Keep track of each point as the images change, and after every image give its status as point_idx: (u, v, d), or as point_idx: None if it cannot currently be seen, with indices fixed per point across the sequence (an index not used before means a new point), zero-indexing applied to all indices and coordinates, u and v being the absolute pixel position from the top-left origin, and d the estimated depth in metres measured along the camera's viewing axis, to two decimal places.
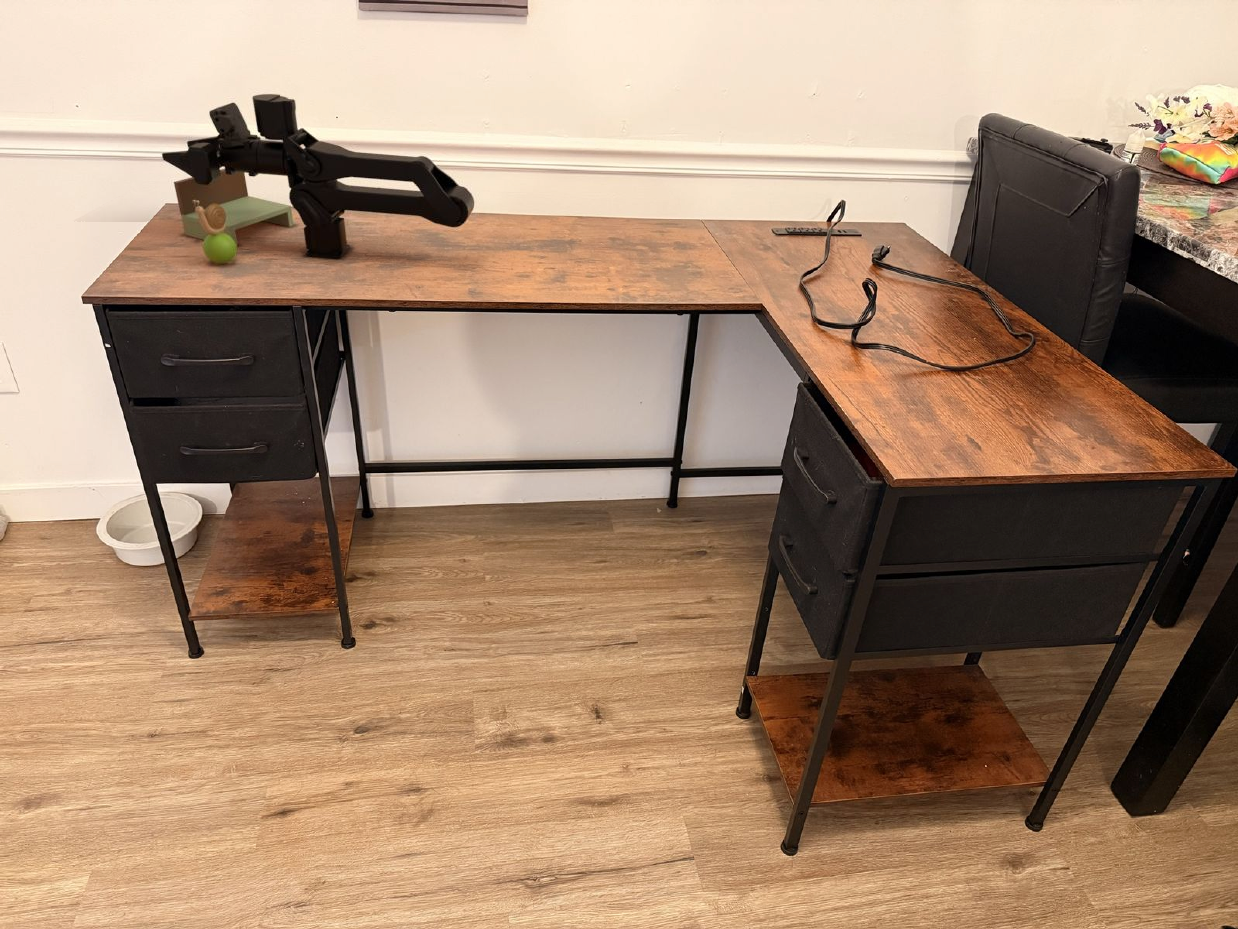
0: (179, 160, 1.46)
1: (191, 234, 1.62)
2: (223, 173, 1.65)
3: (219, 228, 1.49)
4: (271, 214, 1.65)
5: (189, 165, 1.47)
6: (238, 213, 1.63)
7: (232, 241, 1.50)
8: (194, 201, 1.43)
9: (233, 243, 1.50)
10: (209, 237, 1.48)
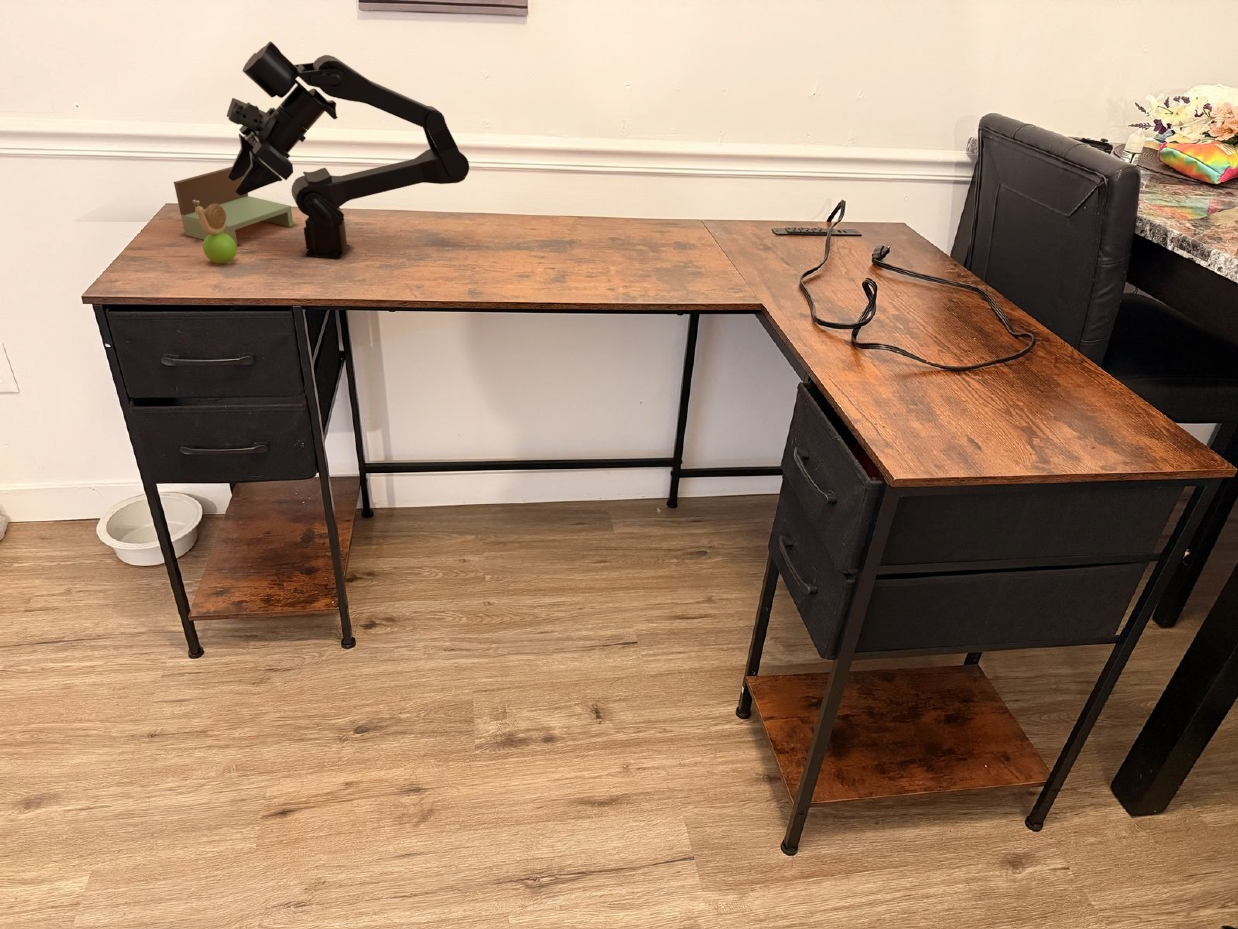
0: (253, 180, 1.43)
1: (191, 234, 1.62)
2: (223, 173, 1.65)
3: (219, 228, 1.49)
4: (271, 214, 1.65)
5: (263, 176, 1.43)
6: (238, 213, 1.63)
7: (232, 241, 1.50)
8: (194, 201, 1.43)
9: (233, 243, 1.50)
10: (209, 237, 1.48)
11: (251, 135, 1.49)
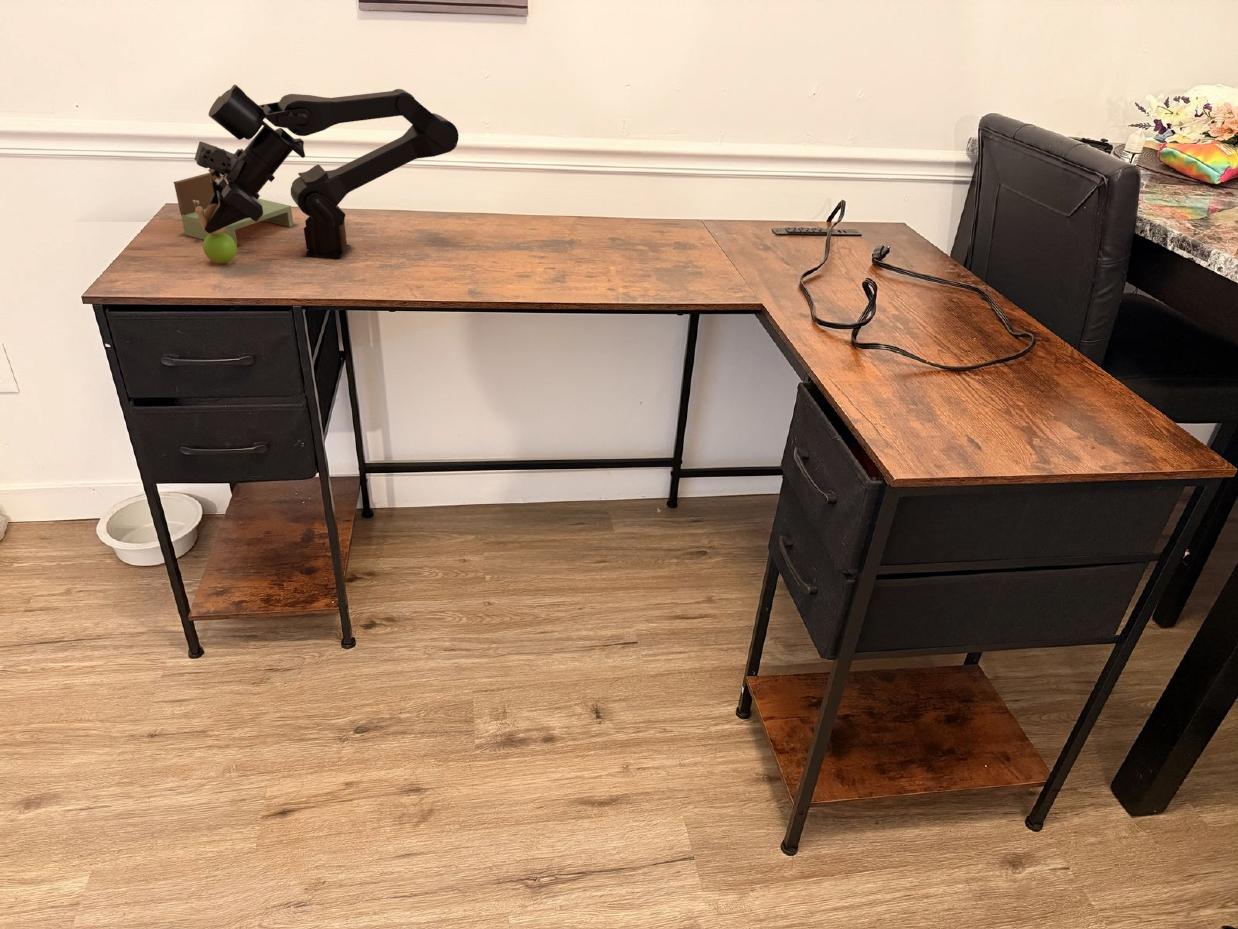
0: (221, 218, 1.45)
1: (191, 234, 1.62)
2: None
3: None
4: (271, 214, 1.65)
5: (231, 214, 1.45)
6: None
7: (232, 241, 1.50)
8: (194, 201, 1.43)
9: (233, 243, 1.50)
10: (209, 237, 1.48)
11: (223, 180, 1.48)
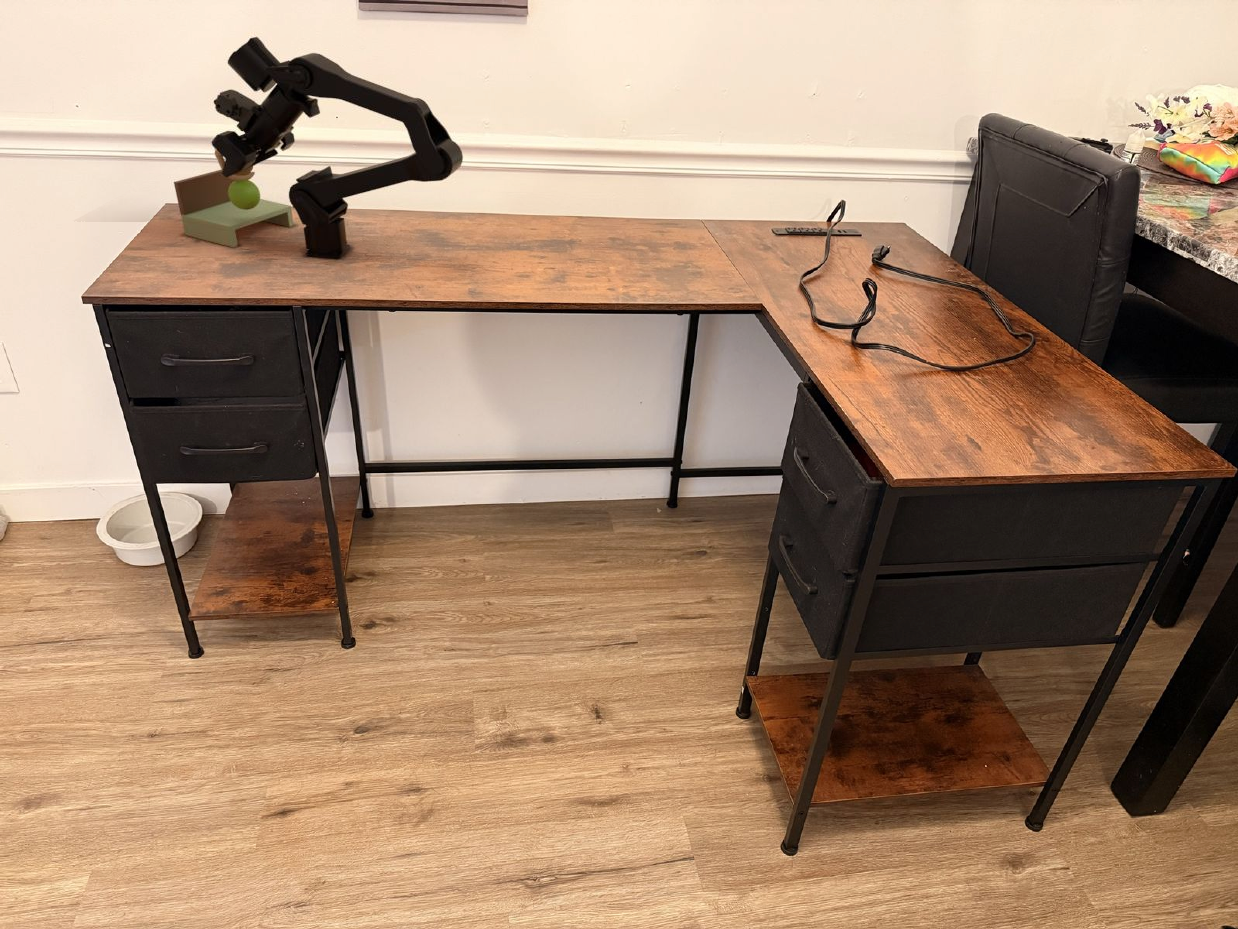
0: (231, 164, 1.50)
1: (191, 234, 1.62)
2: None
3: (241, 175, 1.54)
4: (271, 214, 1.65)
5: None
6: (238, 213, 1.63)
7: (251, 189, 1.55)
8: None
9: (251, 192, 1.55)
10: (232, 182, 1.55)
11: None
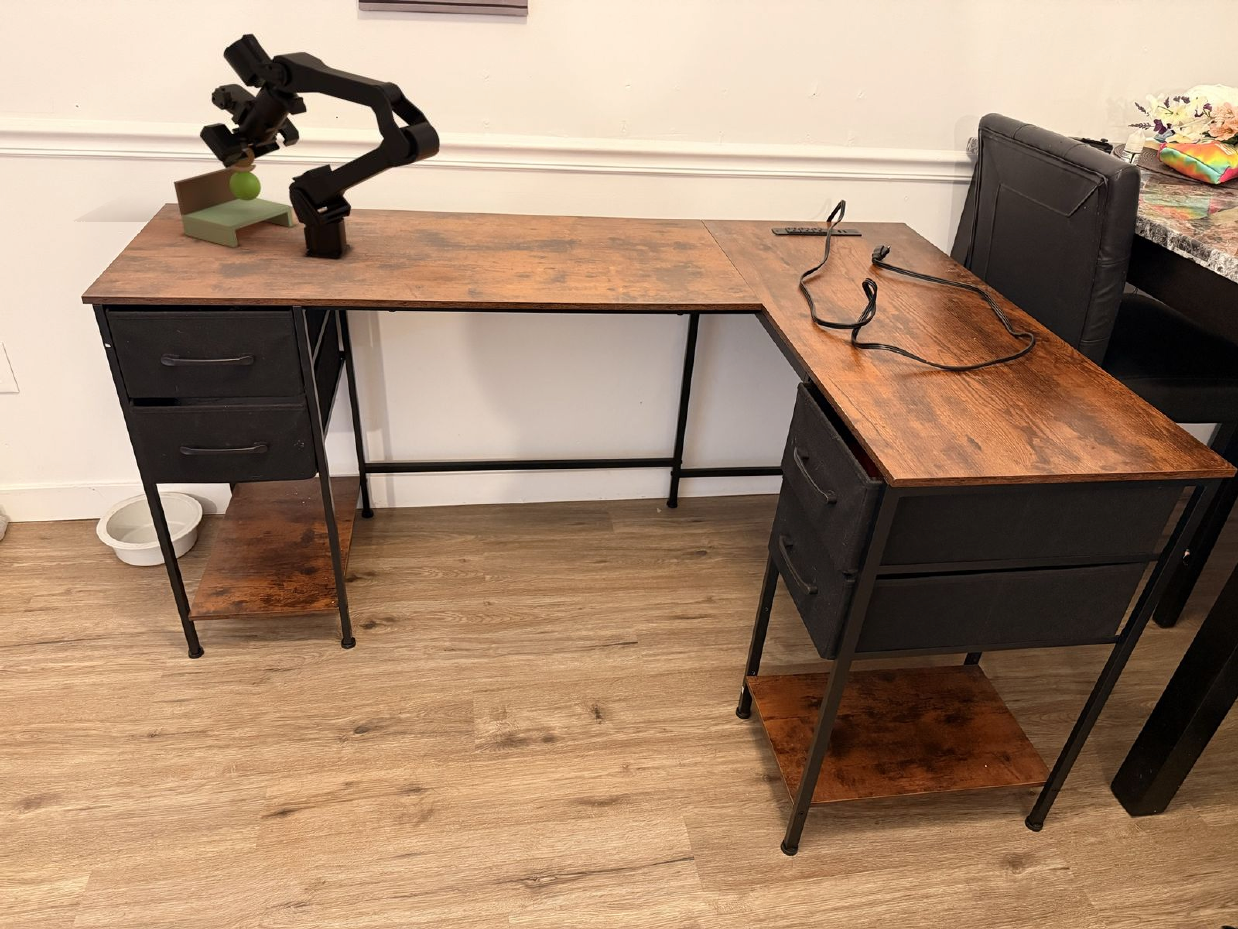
0: None
1: (191, 234, 1.62)
2: (223, 173, 1.65)
3: (242, 167, 1.59)
4: (271, 214, 1.65)
5: None
6: (238, 213, 1.63)
7: (248, 181, 1.59)
8: None
9: (248, 183, 1.59)
10: (234, 173, 1.60)
11: None
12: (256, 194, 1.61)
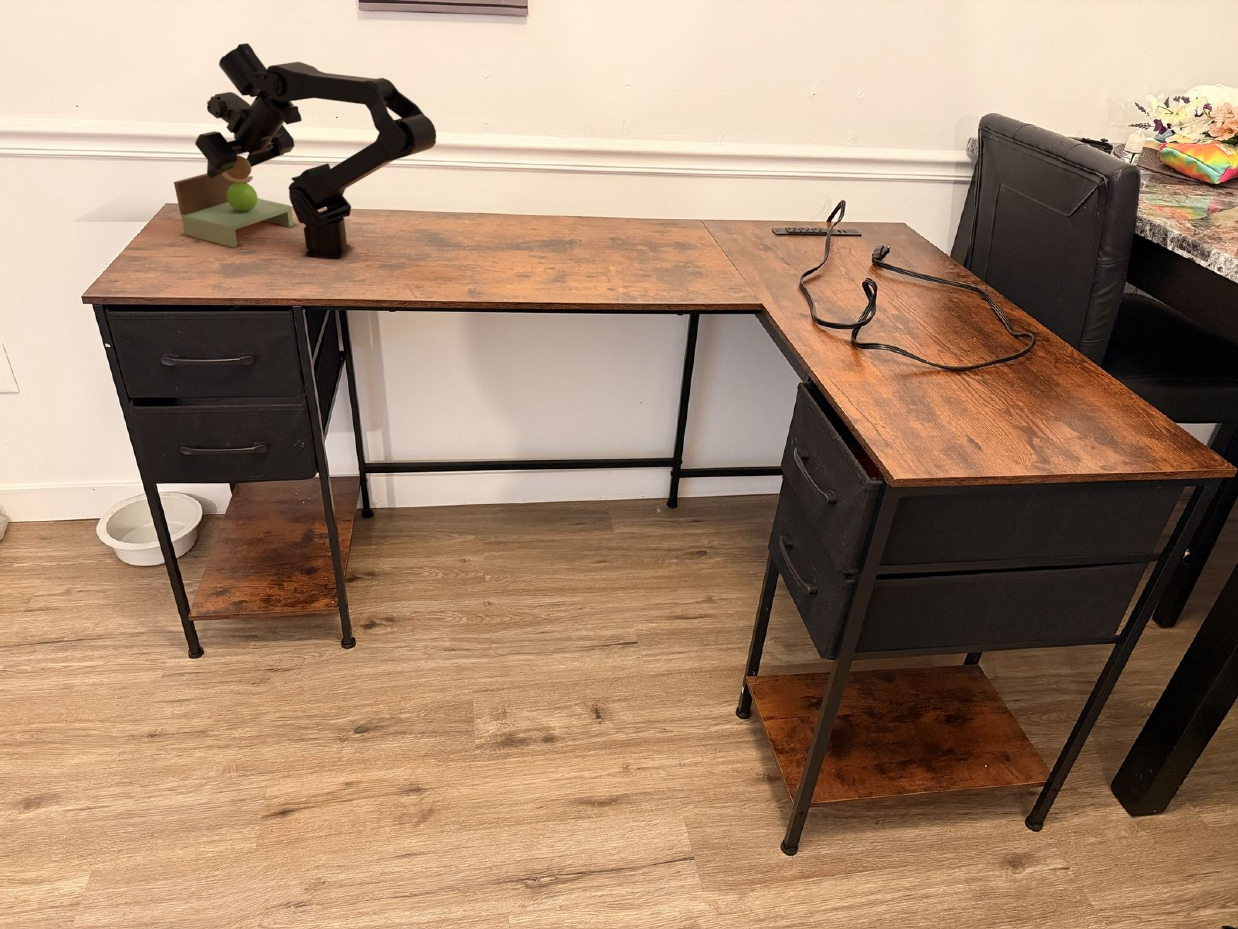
0: (212, 166, 1.54)
1: (191, 234, 1.62)
2: None
3: (239, 178, 1.61)
4: (271, 214, 1.65)
5: None
6: (238, 213, 1.63)
7: (245, 193, 1.61)
8: None
9: (245, 195, 1.61)
10: None
11: None
12: (252, 205, 1.63)
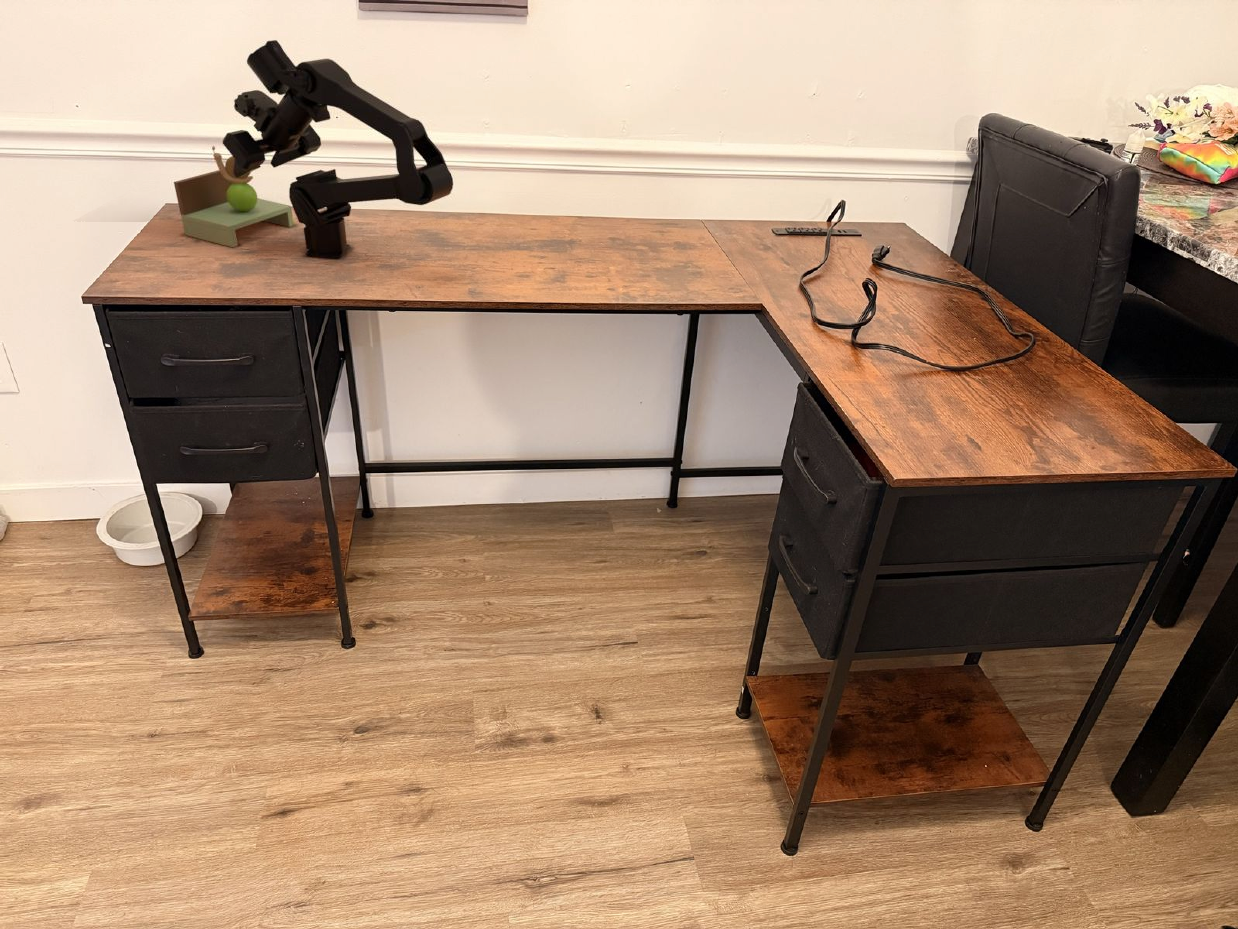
0: (239, 166, 1.52)
1: (191, 234, 1.62)
2: None
3: (239, 178, 1.61)
4: (271, 214, 1.65)
5: None
6: (238, 213, 1.63)
7: (245, 193, 1.61)
8: None
9: (245, 195, 1.61)
10: None
11: None
12: (252, 205, 1.63)
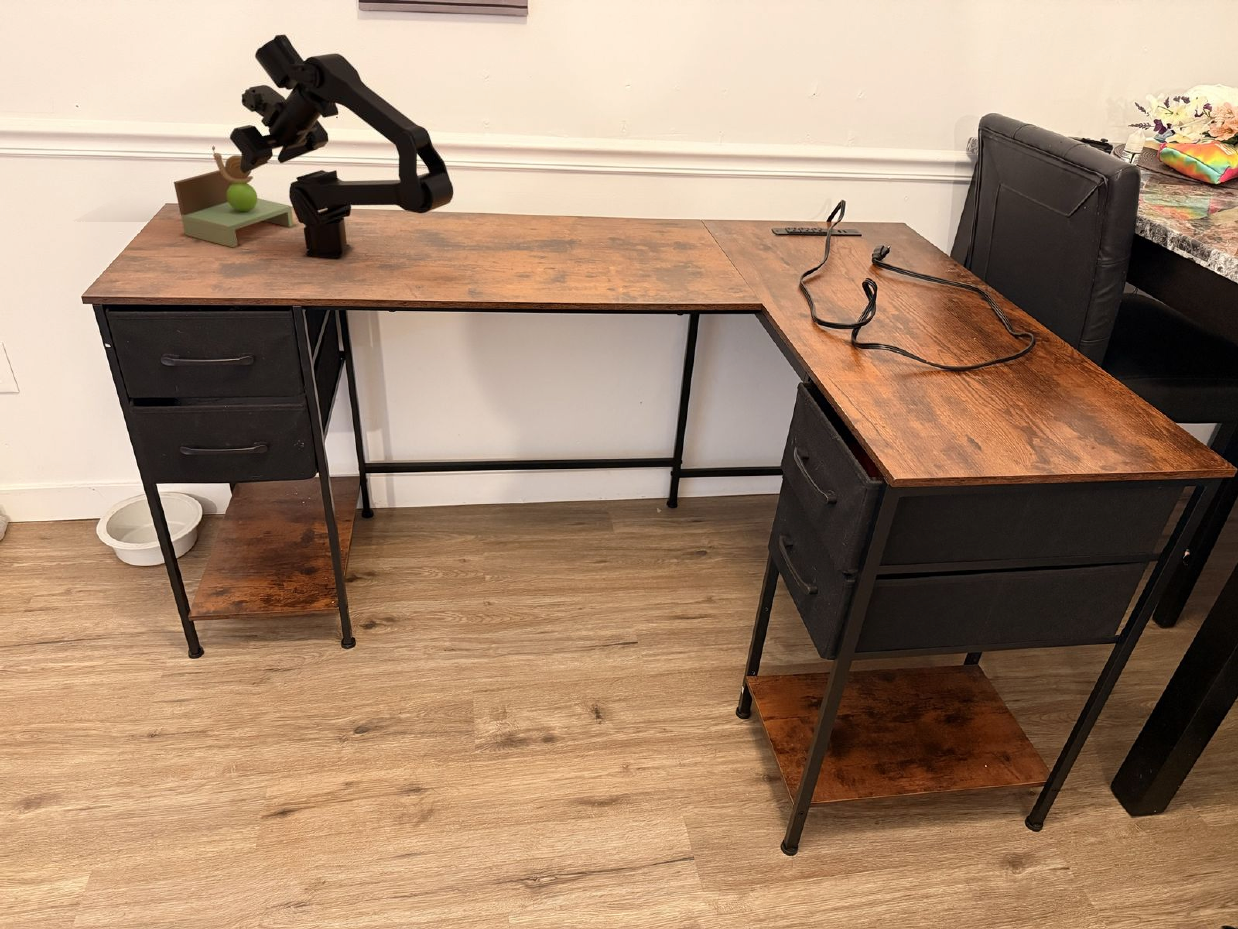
0: (246, 161, 1.50)
1: (191, 234, 1.62)
2: None
3: (239, 178, 1.61)
4: (271, 214, 1.65)
5: None
6: (238, 213, 1.63)
7: (245, 193, 1.61)
8: None
9: (245, 195, 1.61)
10: None
11: None
12: (252, 205, 1.63)
